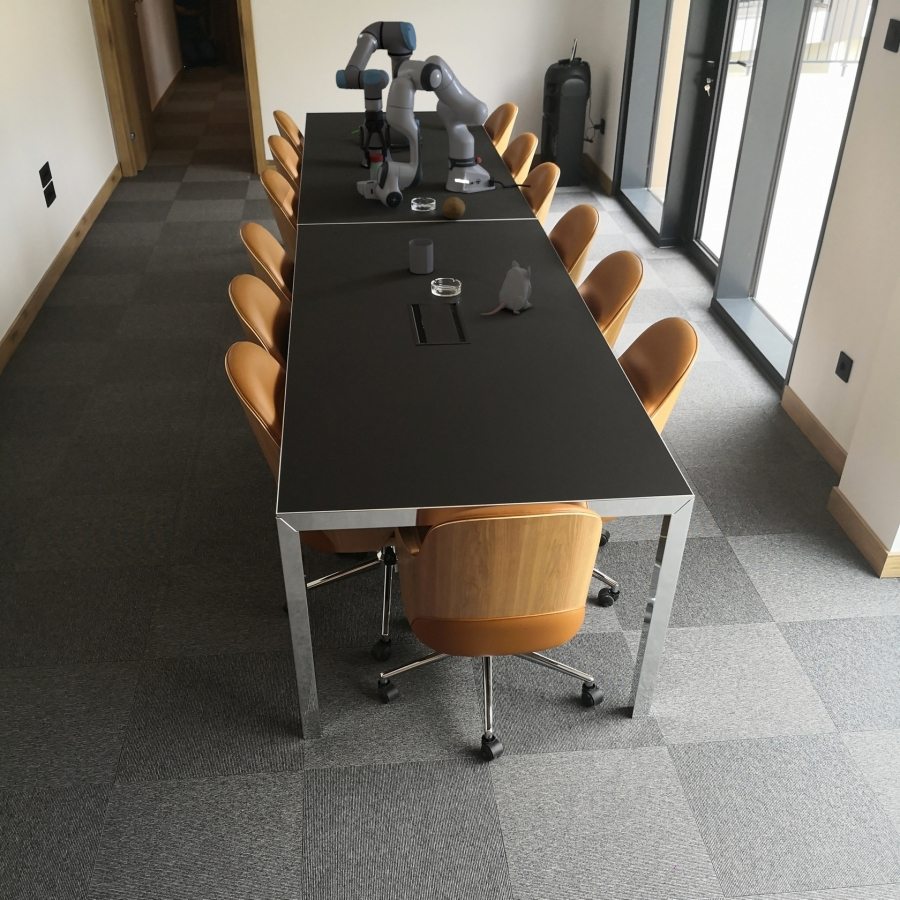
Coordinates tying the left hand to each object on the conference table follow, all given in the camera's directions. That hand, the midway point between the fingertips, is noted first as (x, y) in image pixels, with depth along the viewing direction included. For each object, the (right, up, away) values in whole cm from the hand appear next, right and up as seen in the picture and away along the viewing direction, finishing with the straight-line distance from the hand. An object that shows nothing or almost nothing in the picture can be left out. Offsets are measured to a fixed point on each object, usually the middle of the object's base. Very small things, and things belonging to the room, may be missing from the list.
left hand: (376, 165), depth 377 cm
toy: (+50, -81, -101) cm, 138 cm away
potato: (+34, -28, -19) cm, 48 cm away
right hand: (0, -5, +4) cm, 7 cm away
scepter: (-6, +41, +89) cm, 99 cm away
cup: (+22, -60, -69) cm, 94 cm away
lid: (0, +3, -2) cm, 4 cm away
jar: (0, -11, +7) cm, 13 cm away
